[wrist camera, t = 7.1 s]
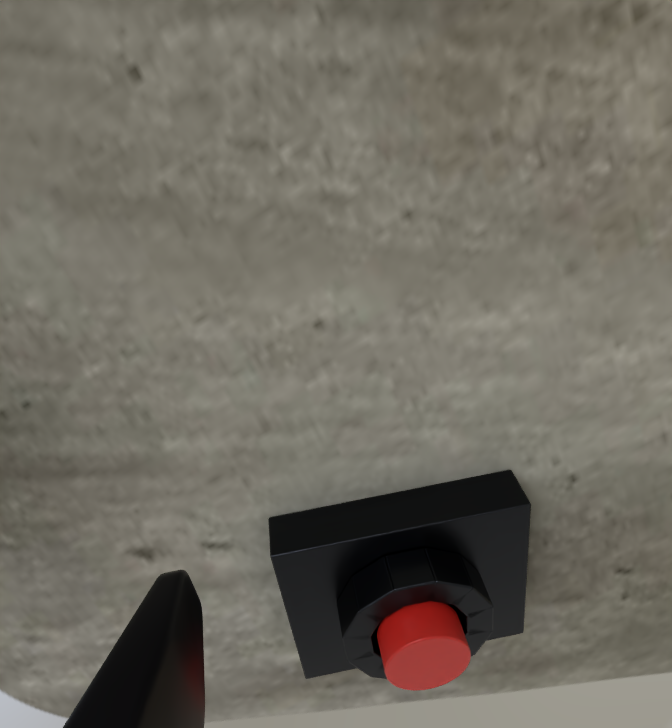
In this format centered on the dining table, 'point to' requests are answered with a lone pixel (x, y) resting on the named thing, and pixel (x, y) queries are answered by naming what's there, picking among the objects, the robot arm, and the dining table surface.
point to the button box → (402, 567)
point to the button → (423, 646)
